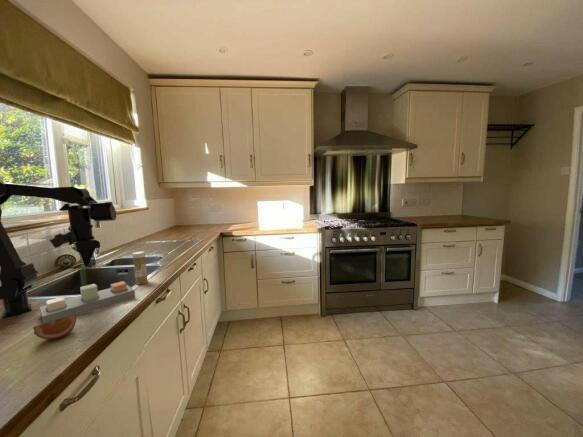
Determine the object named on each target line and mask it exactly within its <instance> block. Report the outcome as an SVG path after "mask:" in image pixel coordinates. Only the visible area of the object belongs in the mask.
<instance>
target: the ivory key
mask: <svg viewBox="0 0 583 437" xmlns="http://www.w3.org/2000/svg"><path fill="white" fill-rule="evenodd" d="M65 300H66V299H65V298H64V296H59V297H56V298H51V299H49V300H46V301H45V305H47V310H48V312H49V311H53V310H56V309H60V308H64V307H66V305H65Z"/></svg>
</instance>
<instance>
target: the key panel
mask: <svg viewBox="0 0 583 437" xmlns="http://www.w3.org/2000/svg"><path fill="white" fill-rule="evenodd" d="M98 296H99V298H96V299H92V300H88V301H85V302H83V301H82V298H81V295H80V296H75V297H71V298H68V299H65V305H66V307H64V308H60V309H56V310H53V311H49V312H48V310H47V304H45V305H42V306H39V311H40V316H41V320H42V324H45V323H50V322H54V321H55V320H57V319H60V318H65V317H67V316H70V315H74V314H75V315H76V317H78V316H80V315H85V314H87V313H90V312H94V311H96V310H97V311H98V310H101V309H105V308H106V307H110V306H114V305H116V304H119V303H123V302H126V301H130V300H133V299H136V292H135V289H134V288H133V287H131V286H130V285H128V284H127V290H124V291H120V292H117V293H112V292H111V287H109V288H105V289H101V290H98Z"/></svg>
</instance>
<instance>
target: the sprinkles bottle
mask: <svg viewBox="0 0 583 437" xmlns="http://www.w3.org/2000/svg"><path fill="white" fill-rule="evenodd" d="M132 258H133V270H134V277H135V284H136V285H137V284H138V283H139V284H141V285H144V284H147V283H148V271H147V270H148V268H147V262H146V252H145V251H136V252H133V253H132Z"/></svg>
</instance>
